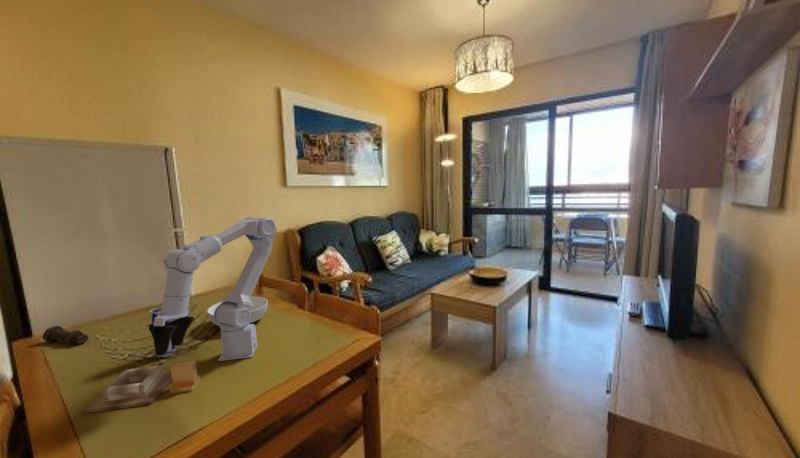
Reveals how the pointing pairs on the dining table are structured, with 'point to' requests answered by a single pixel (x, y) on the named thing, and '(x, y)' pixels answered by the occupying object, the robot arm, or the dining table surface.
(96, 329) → the dining table surface
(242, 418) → the dining table surface
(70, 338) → the bolt
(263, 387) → the dining table surface
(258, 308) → the serving bowl
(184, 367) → the wooden stepped block
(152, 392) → the well block
